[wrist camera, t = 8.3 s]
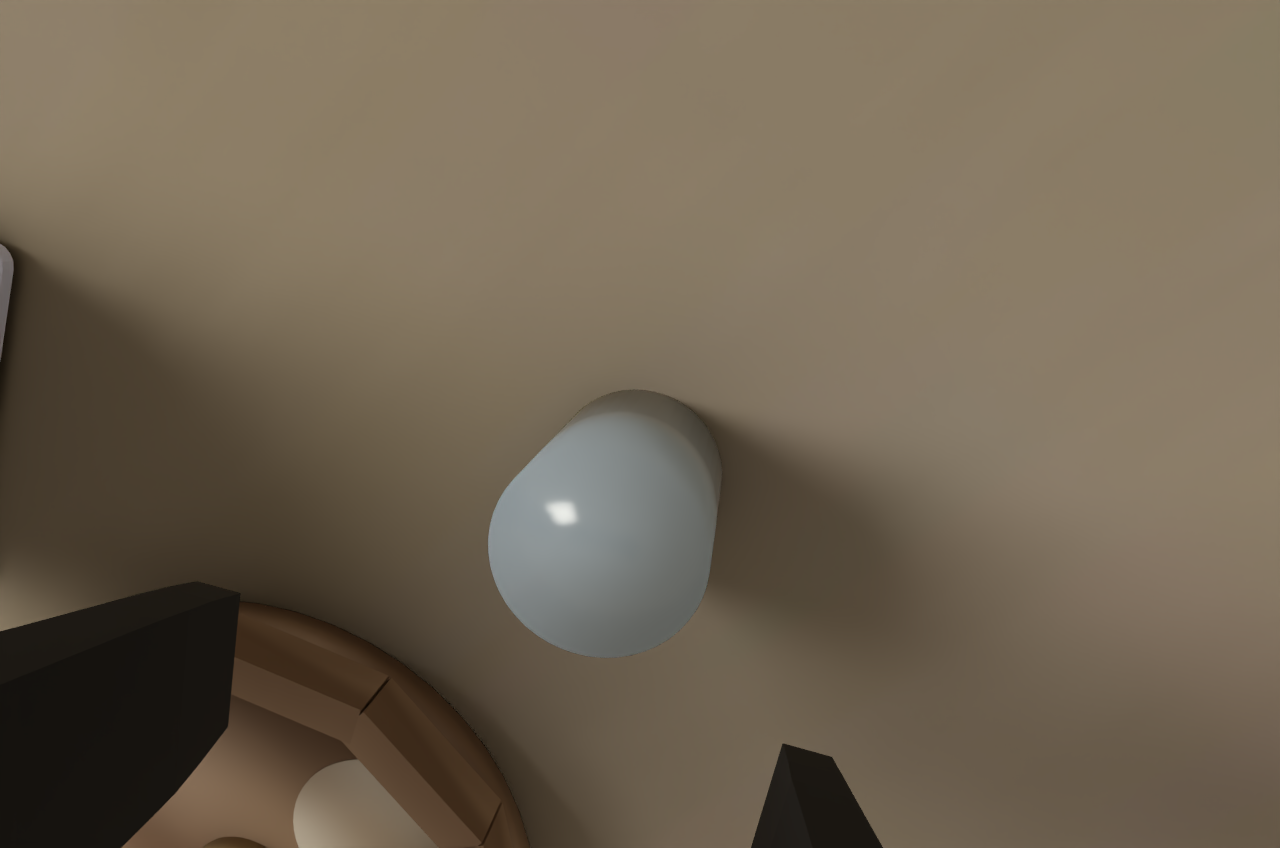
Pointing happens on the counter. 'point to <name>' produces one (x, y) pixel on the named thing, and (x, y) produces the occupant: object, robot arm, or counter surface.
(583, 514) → the slate bead
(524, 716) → the counter surface
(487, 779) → the walnut groove tray
